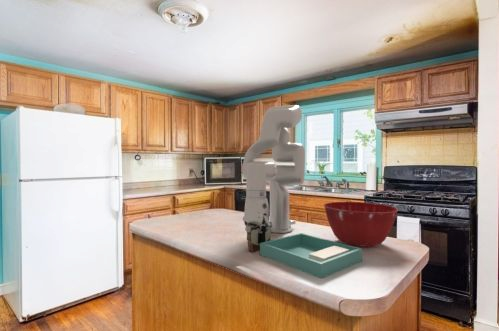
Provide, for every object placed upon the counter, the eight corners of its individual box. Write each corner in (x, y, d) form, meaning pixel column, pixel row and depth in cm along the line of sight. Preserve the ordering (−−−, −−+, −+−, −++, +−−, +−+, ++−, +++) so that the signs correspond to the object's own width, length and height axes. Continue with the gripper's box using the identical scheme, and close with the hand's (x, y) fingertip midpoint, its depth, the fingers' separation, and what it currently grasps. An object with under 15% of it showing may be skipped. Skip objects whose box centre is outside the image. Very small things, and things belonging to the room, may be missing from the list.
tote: (301, 245, 114) (301, 232, 114) (362, 263, 94) (362, 248, 94) (259, 257, 100) (260, 243, 100) (321, 281, 80) (321, 264, 80)
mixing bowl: (342, 231, 137) (342, 199, 137) (407, 243, 117) (407, 205, 117) (310, 243, 117) (310, 205, 116) (383, 260, 97) (383, 215, 97)
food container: (261, 243, 116) (261, 219, 115) (272, 247, 111) (272, 221, 111) (238, 250, 107) (238, 223, 107) (249, 254, 103) (249, 226, 102)
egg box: (334, 256, 97) (334, 245, 97) (350, 261, 93) (350, 249, 93) (307, 266, 88) (307, 253, 88) (324, 272, 84) (324, 259, 84)
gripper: (279, 195, 104) (278, 244, 105) (249, 191, 118) (249, 235, 118) (264, 197, 100) (263, 248, 100) (234, 193, 113) (234, 238, 113)
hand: (255, 240), depth 109 cm, fingers closed on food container, 5 cm apart
